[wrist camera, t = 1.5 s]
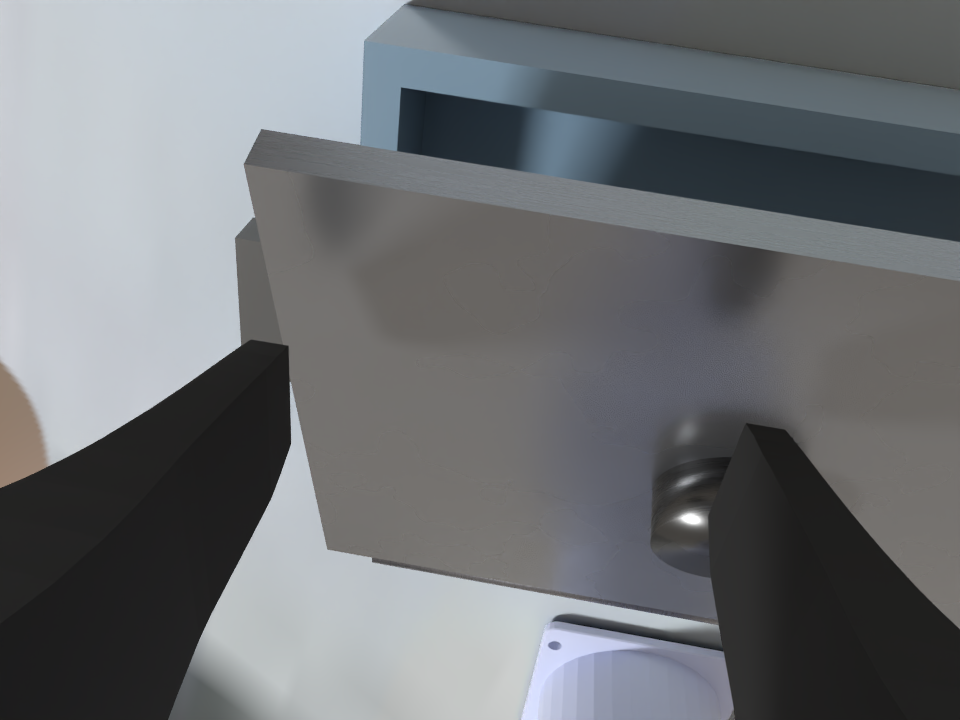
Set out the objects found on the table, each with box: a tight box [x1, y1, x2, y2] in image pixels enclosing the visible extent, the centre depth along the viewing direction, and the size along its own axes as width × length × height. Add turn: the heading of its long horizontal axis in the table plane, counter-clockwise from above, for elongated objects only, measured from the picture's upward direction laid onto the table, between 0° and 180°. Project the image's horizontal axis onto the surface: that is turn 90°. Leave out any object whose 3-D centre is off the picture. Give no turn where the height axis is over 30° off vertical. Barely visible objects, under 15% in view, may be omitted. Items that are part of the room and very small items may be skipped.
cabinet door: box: [244, 129, 960, 629], centre depth 17 cm, size 15×19×2 cm
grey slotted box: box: [235, 4, 960, 382], centre depth 21 cm, size 14×24×4 cm, turn 83°
